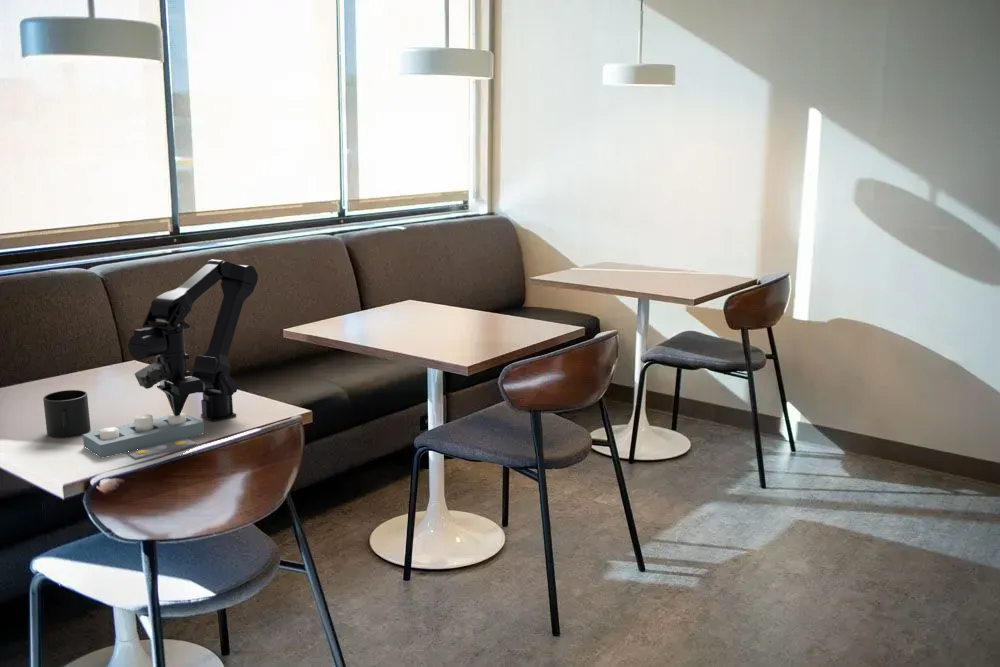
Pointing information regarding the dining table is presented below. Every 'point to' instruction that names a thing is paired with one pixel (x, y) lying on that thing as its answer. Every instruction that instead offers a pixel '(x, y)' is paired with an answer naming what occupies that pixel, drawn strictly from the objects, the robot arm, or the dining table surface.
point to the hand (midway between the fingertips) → (177, 415)
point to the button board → (143, 436)
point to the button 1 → (109, 433)
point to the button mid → (143, 423)
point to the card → (160, 448)
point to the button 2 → (176, 419)
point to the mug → (66, 413)
